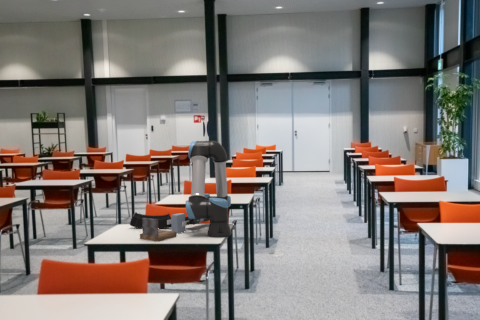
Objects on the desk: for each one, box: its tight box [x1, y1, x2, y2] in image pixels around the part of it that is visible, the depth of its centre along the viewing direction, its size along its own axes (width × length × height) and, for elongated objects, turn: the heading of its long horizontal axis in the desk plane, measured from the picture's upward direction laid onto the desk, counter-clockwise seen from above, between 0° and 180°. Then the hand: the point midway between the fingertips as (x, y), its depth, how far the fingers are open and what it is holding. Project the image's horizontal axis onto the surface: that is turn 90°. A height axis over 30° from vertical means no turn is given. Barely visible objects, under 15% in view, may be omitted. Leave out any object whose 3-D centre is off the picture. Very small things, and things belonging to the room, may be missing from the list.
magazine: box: [129, 212, 172, 229], centre depth 358 cm, size 17×3×30 cm
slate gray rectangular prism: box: [170, 212, 187, 234], centre depth 342 cm, size 5×8×12 cm, turn 145°
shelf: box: [139, 218, 178, 242], centre depth 327 cm, size 16×16×13 cm
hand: (174, 223), depth 340 cm, fingers open, 12 cm apart
